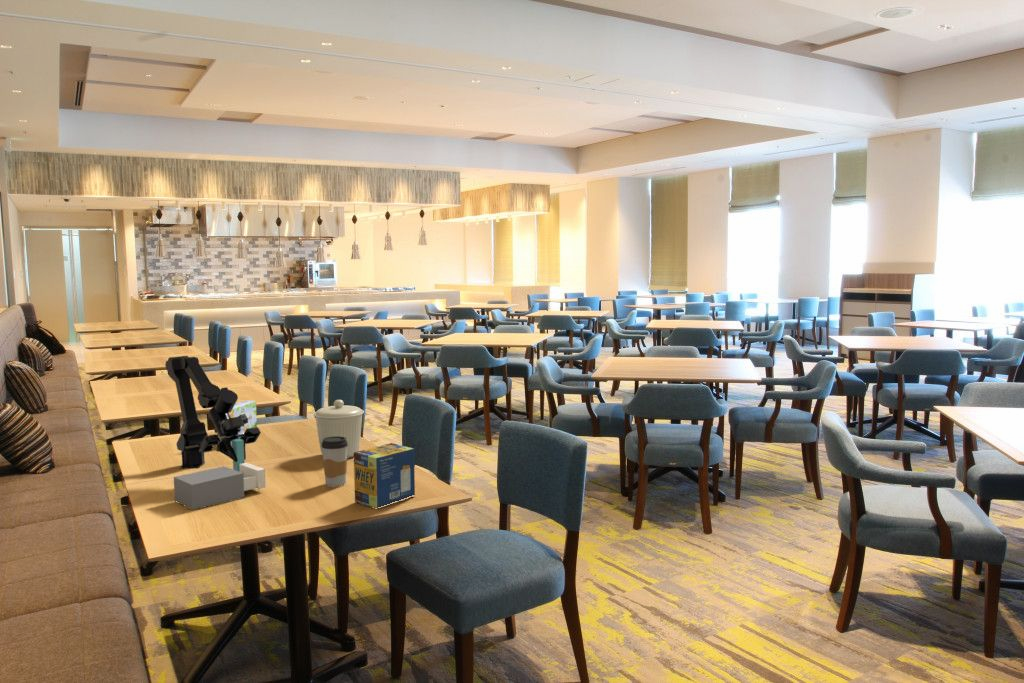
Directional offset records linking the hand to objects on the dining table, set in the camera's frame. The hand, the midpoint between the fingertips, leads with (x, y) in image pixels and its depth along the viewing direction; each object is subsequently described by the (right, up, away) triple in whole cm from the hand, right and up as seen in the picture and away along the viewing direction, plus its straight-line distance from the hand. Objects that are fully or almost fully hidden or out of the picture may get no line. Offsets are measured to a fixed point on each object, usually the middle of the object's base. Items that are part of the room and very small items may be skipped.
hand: (240, 460), depth 249 cm
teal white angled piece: (-1, -7, -8) cm, 11 cm away
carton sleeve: (-4, -10, -14) cm, 18 cm away
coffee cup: (+31, -8, +1) cm, 32 cm away
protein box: (+49, -10, -16) cm, 53 cm away
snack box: (-22, -2, +59) cm, 63 cm away
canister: (+24, -4, +36) cm, 44 cm away
